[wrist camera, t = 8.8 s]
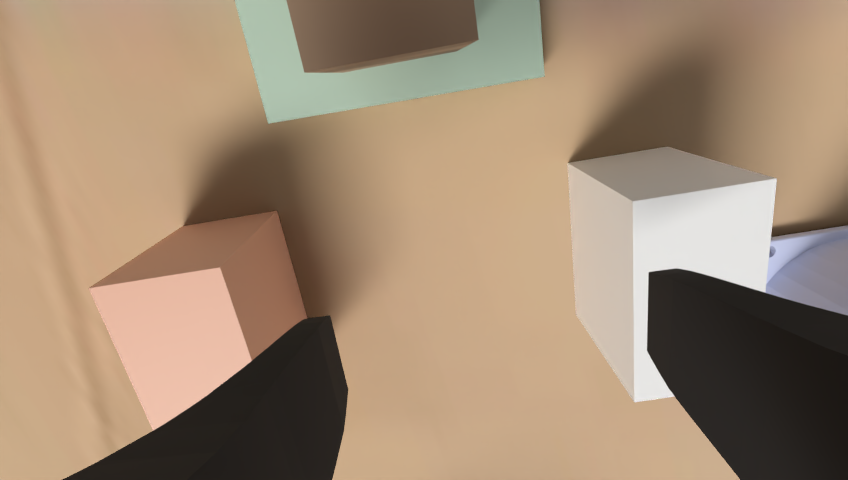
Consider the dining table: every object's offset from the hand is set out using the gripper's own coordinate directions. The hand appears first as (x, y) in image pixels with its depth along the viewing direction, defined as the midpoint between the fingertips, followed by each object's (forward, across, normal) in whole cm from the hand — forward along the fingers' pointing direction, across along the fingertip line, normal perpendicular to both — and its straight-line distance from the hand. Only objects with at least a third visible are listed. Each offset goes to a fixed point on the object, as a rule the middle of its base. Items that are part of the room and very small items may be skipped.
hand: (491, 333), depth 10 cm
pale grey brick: (+10, -7, +2) cm, 12 cm away
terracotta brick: (+9, +9, +2) cm, 13 cm away
